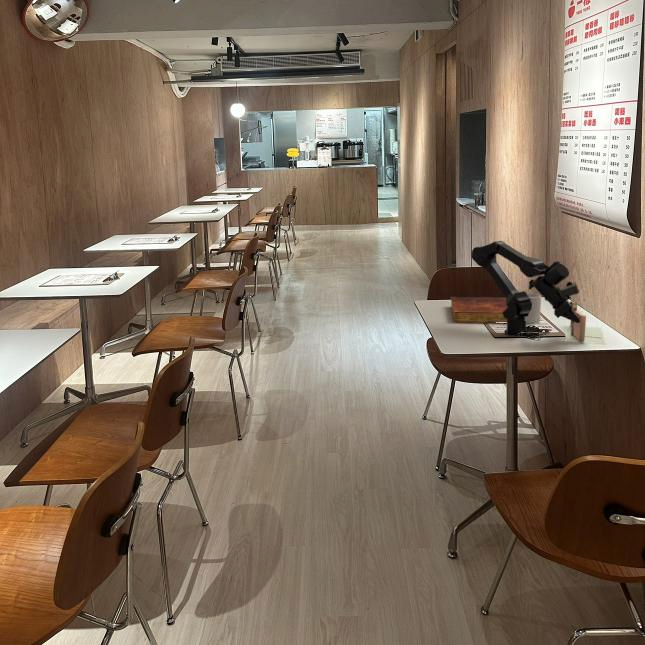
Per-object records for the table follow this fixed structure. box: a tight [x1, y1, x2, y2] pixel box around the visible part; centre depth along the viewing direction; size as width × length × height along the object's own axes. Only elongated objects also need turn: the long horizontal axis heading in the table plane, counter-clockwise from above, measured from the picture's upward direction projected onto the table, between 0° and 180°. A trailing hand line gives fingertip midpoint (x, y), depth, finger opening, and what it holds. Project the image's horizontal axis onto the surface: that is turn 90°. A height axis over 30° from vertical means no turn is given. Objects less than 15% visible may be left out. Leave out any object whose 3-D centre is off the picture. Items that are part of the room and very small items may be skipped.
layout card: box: [564, 325, 606, 345], centre depth 300 cm, size 14×25×1 cm, turn 164°
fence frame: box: [569, 301, 578, 336], centre depth 305 cm, size 2×16×10 cm, turn 164°
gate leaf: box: [573, 311, 587, 342], centre depth 292 cm, size 2×9×9 cm, turn 179°
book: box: [450, 296, 508, 324], centre depth 334 cm, size 30×24×5 cm
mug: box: [525, 292, 542, 325], centre depth 322 cm, size 12×8×11 cm
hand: (578, 322), depth 290 cm, fingers closed
